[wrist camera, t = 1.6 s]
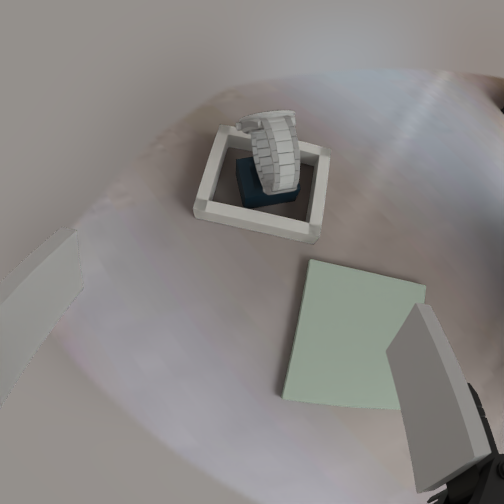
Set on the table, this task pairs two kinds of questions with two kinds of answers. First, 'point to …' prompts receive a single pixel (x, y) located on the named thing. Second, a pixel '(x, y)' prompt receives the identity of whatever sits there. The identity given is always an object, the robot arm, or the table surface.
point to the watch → (269, 159)
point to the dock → (257, 219)
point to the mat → (347, 337)
